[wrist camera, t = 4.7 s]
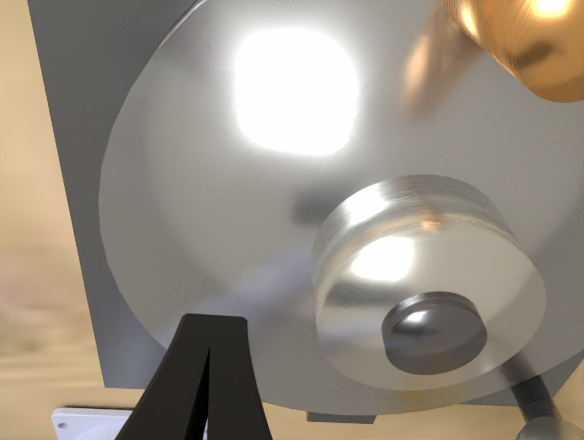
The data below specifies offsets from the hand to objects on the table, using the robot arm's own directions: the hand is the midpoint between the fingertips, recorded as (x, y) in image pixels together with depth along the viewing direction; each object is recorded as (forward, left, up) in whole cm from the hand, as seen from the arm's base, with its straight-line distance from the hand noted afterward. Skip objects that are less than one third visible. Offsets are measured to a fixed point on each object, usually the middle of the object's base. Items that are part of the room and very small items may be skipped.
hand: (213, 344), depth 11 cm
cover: (0, -5, -3) cm, 6 cm away
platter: (0, -5, -5) cm, 7 cm away
